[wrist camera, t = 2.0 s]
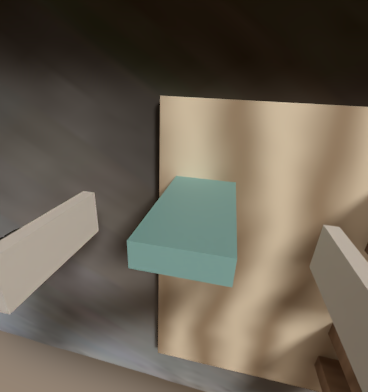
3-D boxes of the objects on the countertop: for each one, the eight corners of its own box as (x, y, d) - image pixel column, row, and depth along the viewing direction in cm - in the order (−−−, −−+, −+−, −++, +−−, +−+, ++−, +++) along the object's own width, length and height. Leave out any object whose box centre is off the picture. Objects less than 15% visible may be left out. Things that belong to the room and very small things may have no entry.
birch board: (160, 343, 30) (158, 352, 29) (164, 96, 18) (160, 95, 17) (380, 395, 26) (387, 408, 25) (568, 117, 14) (595, 119, 13)
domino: (233, 200, 19) (232, 287, 10) (175, 193, 20) (128, 268, 11) (235, 182, 19) (237, 258, 10) (176, 175, 20) (126, 240, 11)
